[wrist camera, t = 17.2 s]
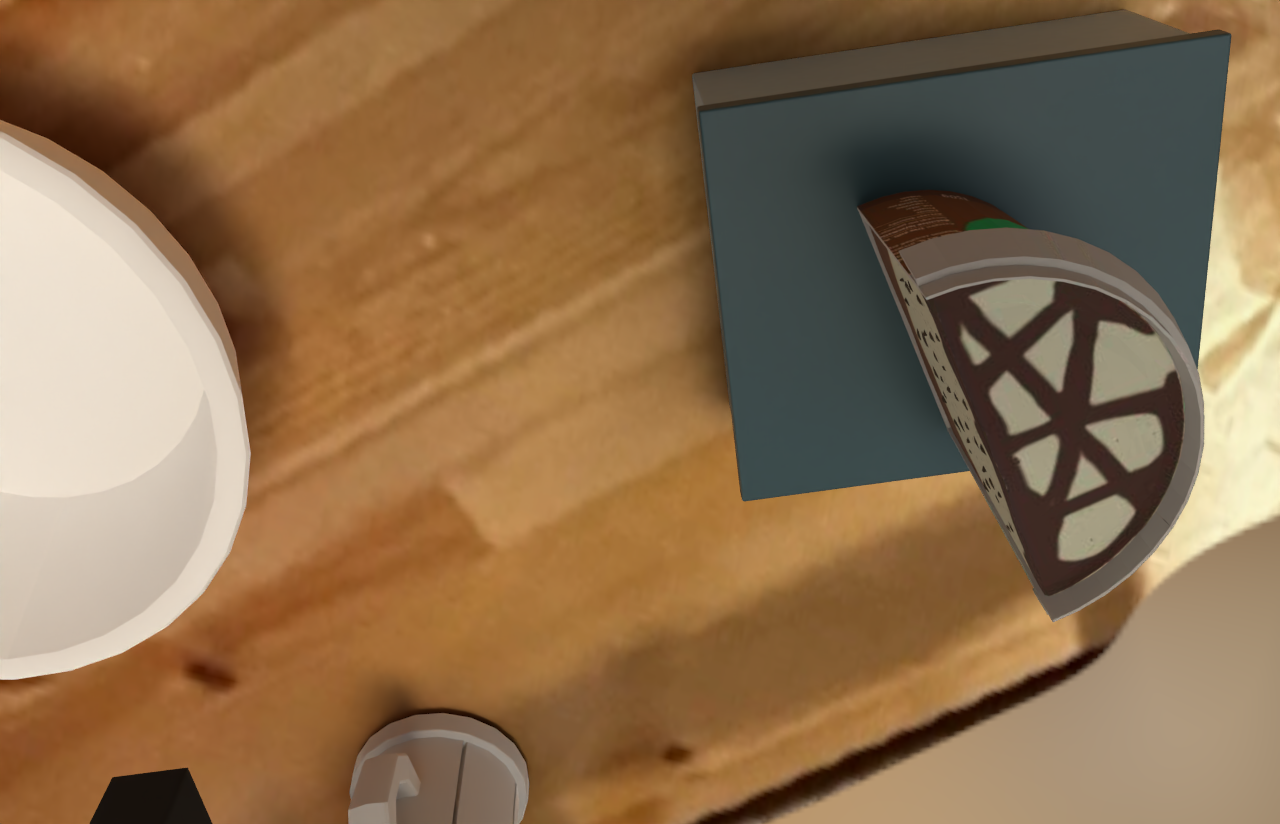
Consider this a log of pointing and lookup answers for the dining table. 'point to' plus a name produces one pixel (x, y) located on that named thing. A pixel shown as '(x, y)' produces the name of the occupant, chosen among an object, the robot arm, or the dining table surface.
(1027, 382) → the food container
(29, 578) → the bowl
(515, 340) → the dining table surface
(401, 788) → the cup
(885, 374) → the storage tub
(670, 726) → the dining table surface
